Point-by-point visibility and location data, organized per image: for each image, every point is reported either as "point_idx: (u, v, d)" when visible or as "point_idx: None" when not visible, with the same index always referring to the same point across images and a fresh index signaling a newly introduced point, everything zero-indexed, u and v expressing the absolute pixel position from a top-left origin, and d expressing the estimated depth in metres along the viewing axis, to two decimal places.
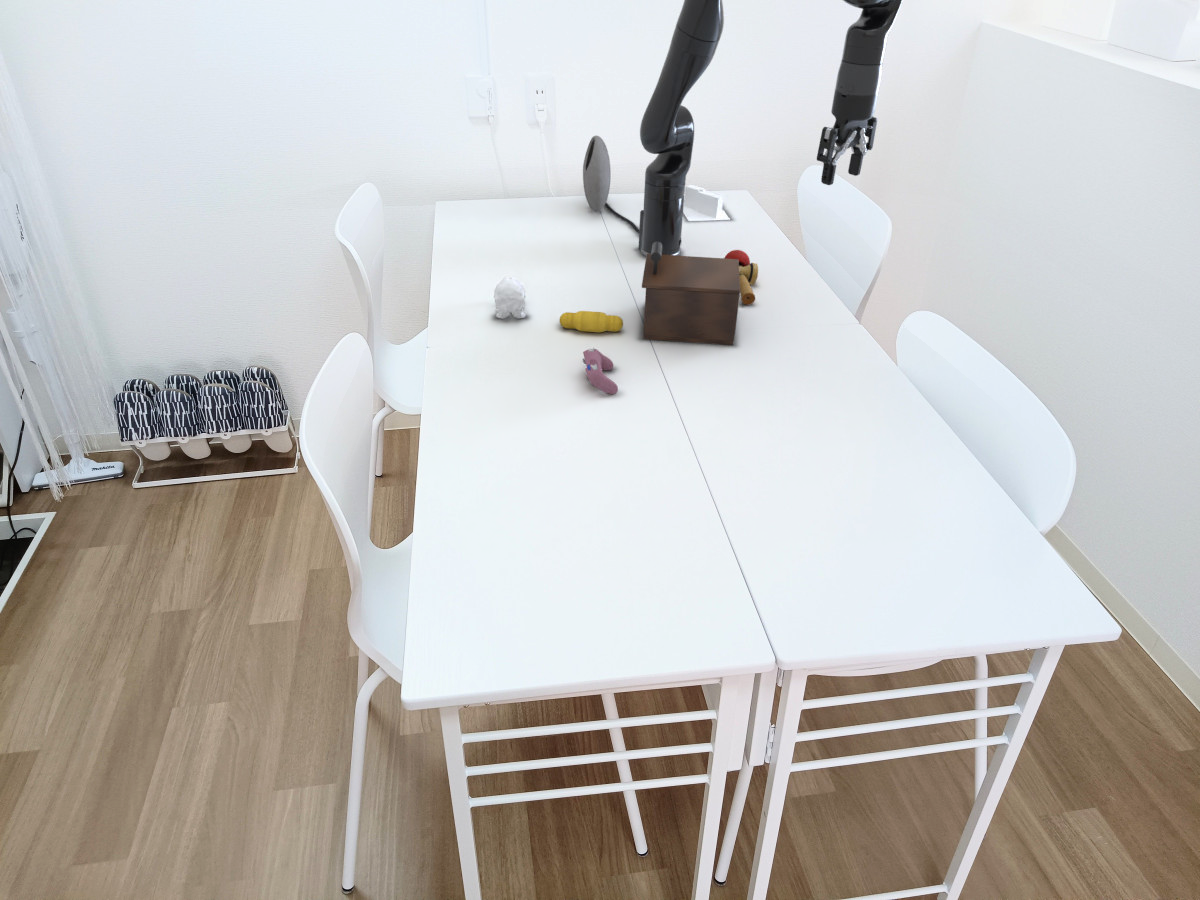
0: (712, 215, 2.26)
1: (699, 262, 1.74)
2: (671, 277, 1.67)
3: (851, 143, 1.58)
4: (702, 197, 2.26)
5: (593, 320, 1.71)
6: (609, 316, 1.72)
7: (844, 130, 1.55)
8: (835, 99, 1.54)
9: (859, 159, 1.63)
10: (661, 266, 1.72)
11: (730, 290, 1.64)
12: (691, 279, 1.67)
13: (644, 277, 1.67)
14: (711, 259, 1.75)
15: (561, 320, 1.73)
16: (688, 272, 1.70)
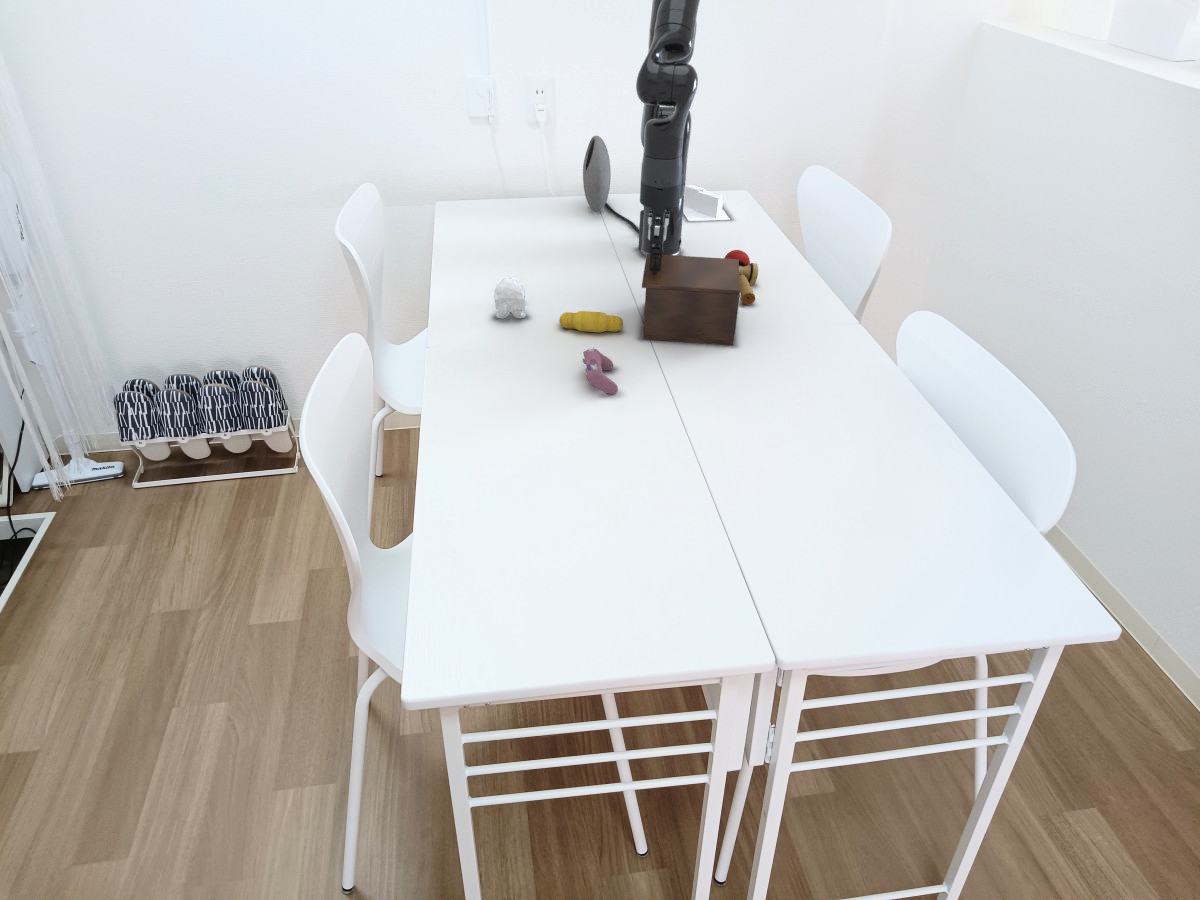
0: (712, 215, 2.26)
1: (699, 262, 1.74)
2: (671, 277, 1.67)
3: None
4: (702, 197, 2.26)
5: (593, 320, 1.71)
6: (609, 316, 1.72)
7: (663, 219, 1.61)
8: (649, 193, 1.59)
9: None
10: (661, 266, 1.72)
11: (730, 290, 1.64)
12: (691, 279, 1.67)
13: (644, 277, 1.67)
14: (711, 259, 1.75)
15: (561, 320, 1.73)
16: (688, 272, 1.70)
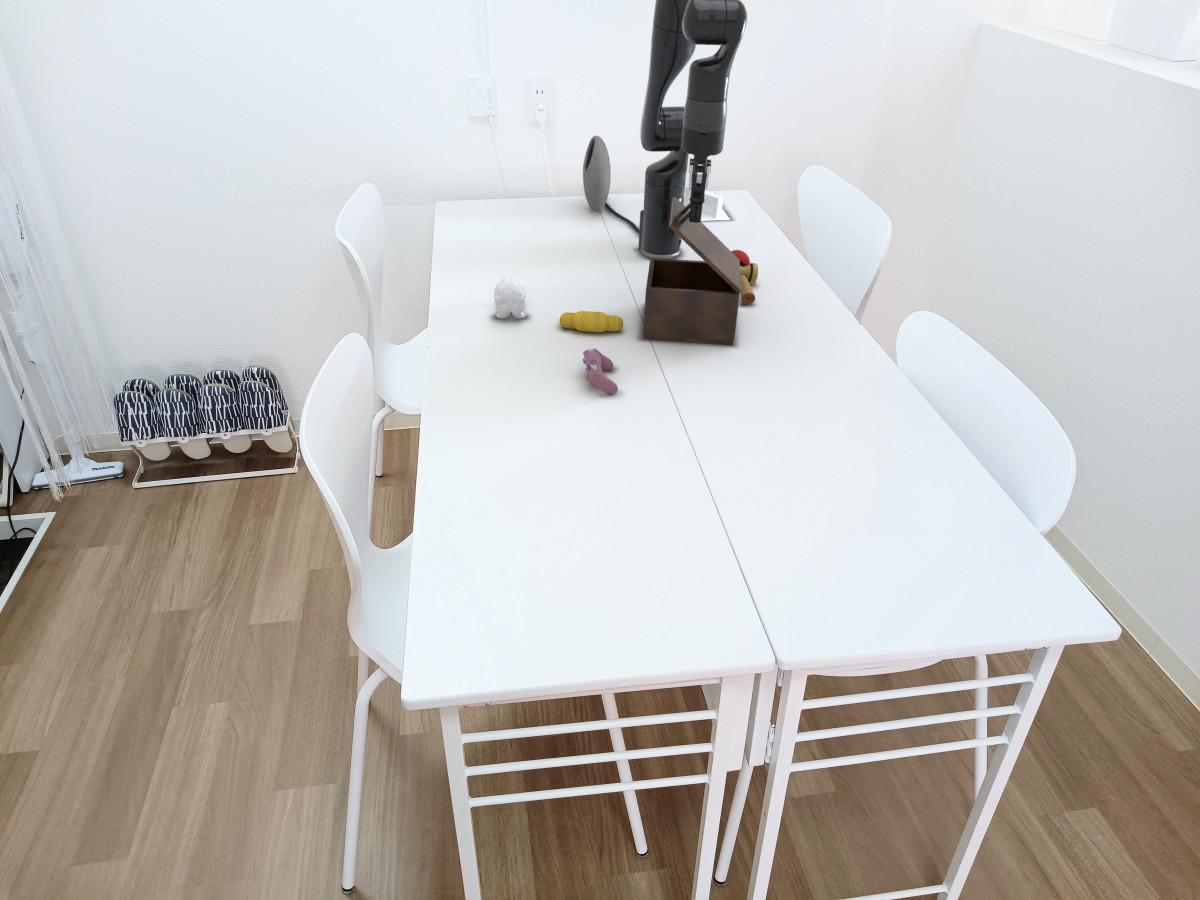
0: (712, 215, 2.26)
1: (713, 238, 1.71)
2: (693, 236, 1.62)
3: None
4: None
5: (593, 320, 1.71)
6: (609, 316, 1.72)
7: (706, 166, 1.55)
8: (691, 138, 1.52)
9: (701, 194, 1.64)
10: None
11: (734, 284, 1.63)
12: (707, 250, 1.63)
13: (673, 218, 1.60)
14: (721, 243, 1.73)
15: (561, 320, 1.73)
16: (705, 242, 1.66)
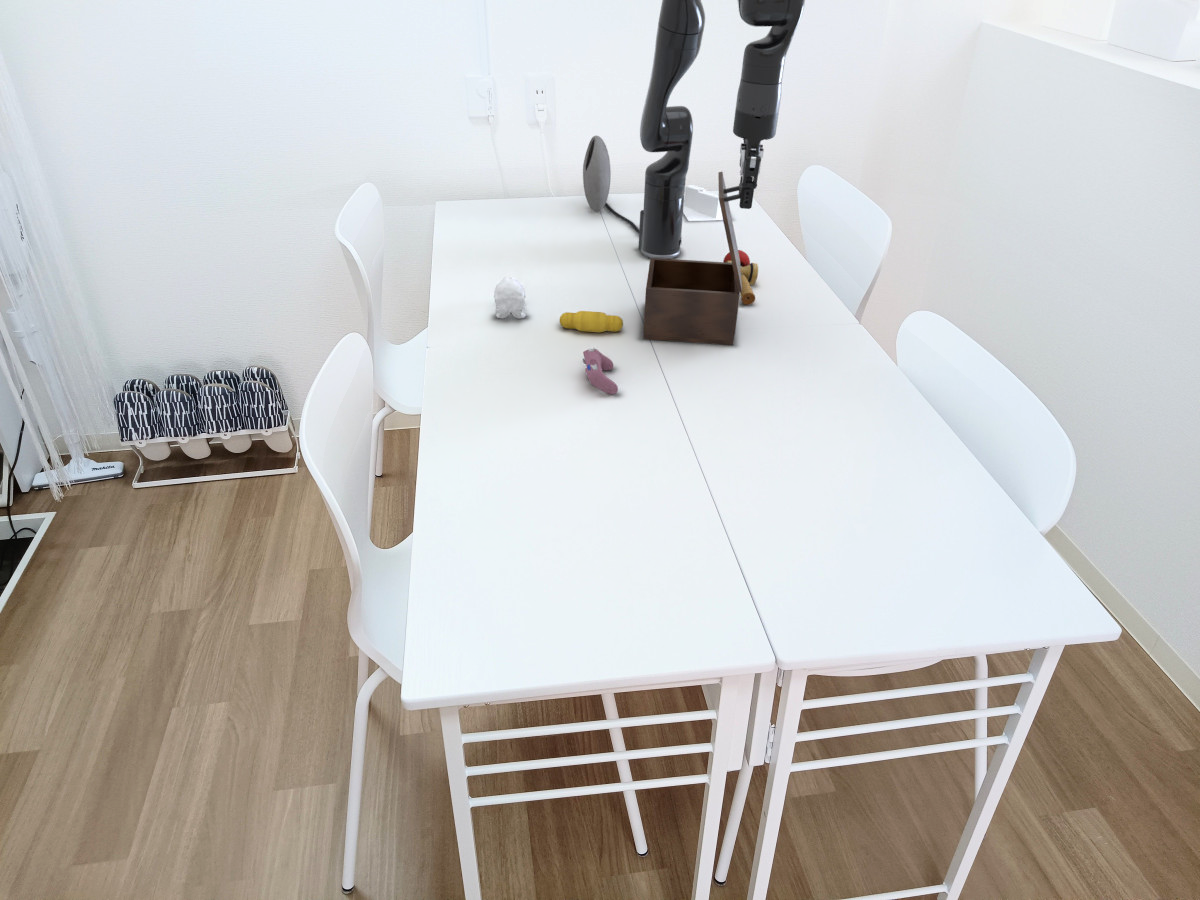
0: (712, 215, 2.26)
1: (733, 229, 1.69)
2: (728, 218, 1.60)
3: None
4: (702, 197, 2.26)
5: (593, 320, 1.71)
6: (609, 316, 1.72)
7: None
8: (745, 122, 1.50)
9: (751, 180, 1.61)
10: None
11: (739, 282, 1.63)
12: (732, 239, 1.62)
13: (723, 193, 1.56)
14: (735, 237, 1.72)
15: (561, 320, 1.73)
16: (731, 229, 1.64)
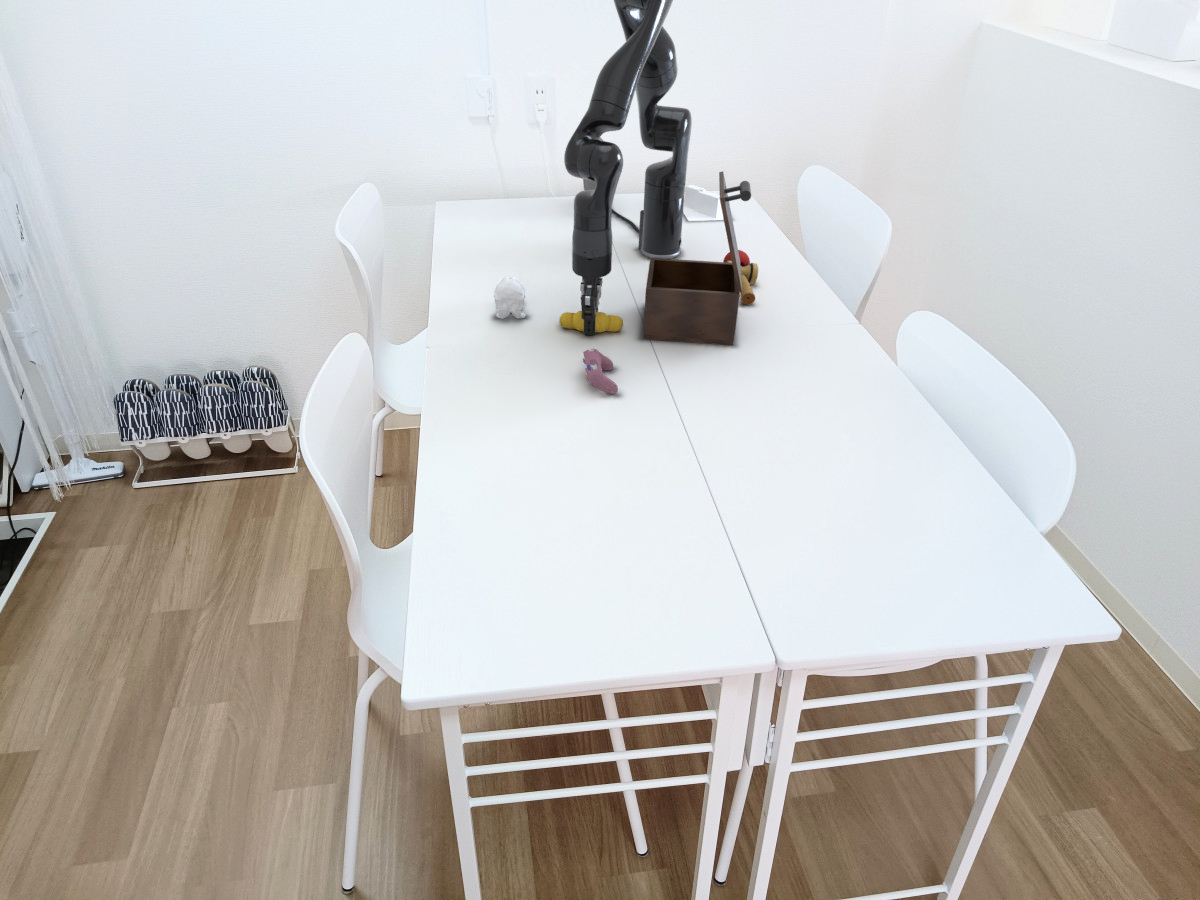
0: (712, 215, 2.26)
1: (733, 229, 1.69)
2: (729, 218, 1.60)
3: None
4: (702, 197, 2.26)
5: None
6: (609, 316, 1.72)
7: (595, 287, 1.65)
8: (579, 262, 1.63)
9: (596, 310, 1.74)
10: None
11: (739, 282, 1.63)
12: (733, 239, 1.62)
13: (724, 193, 1.56)
14: (735, 237, 1.72)
15: (561, 320, 1.73)
16: (732, 229, 1.64)
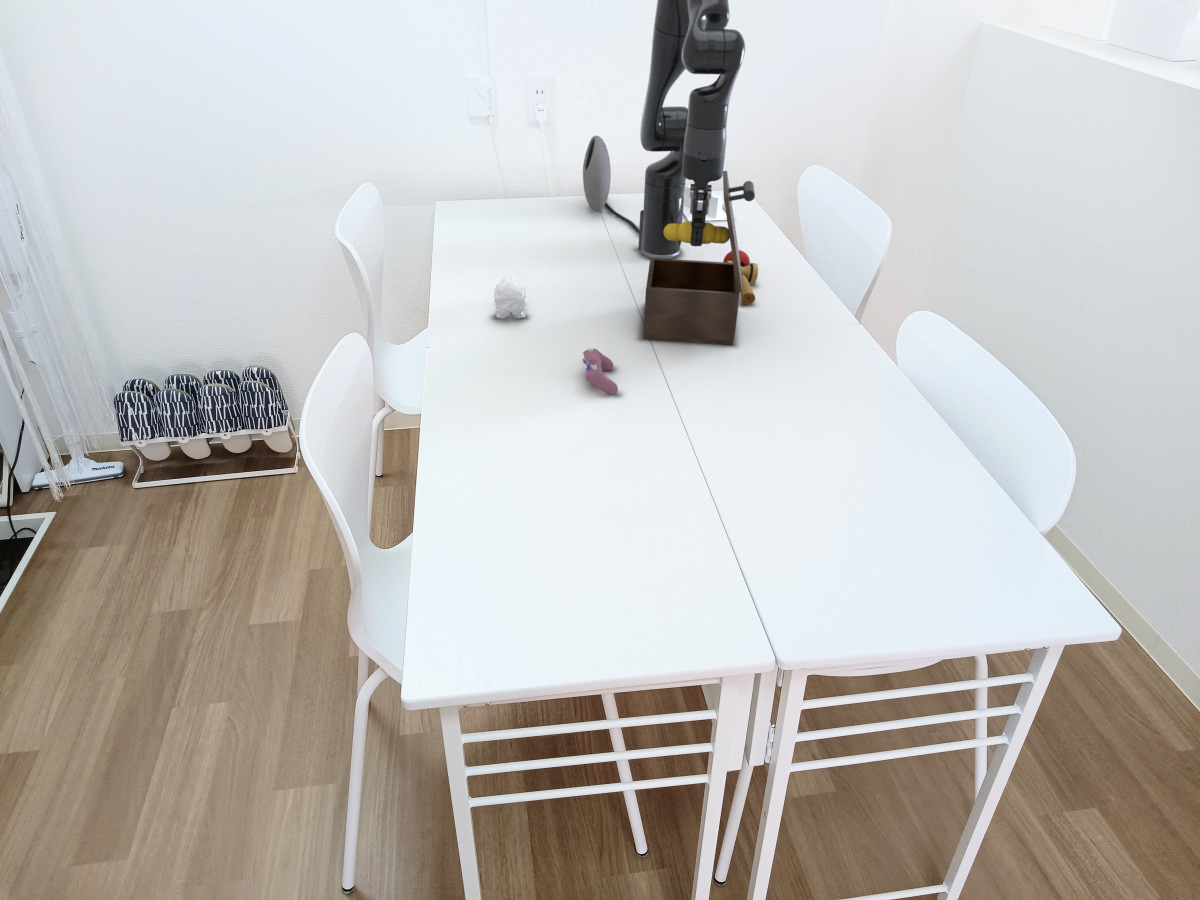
0: (712, 215, 2.26)
1: None
2: None
3: None
4: None
5: None
6: (716, 227, 1.65)
7: (706, 192, 1.58)
8: (692, 165, 1.55)
9: None
10: None
11: (740, 282, 1.63)
12: None
13: (728, 192, 1.56)
14: (736, 237, 1.72)
15: (666, 231, 1.66)
16: (734, 229, 1.64)
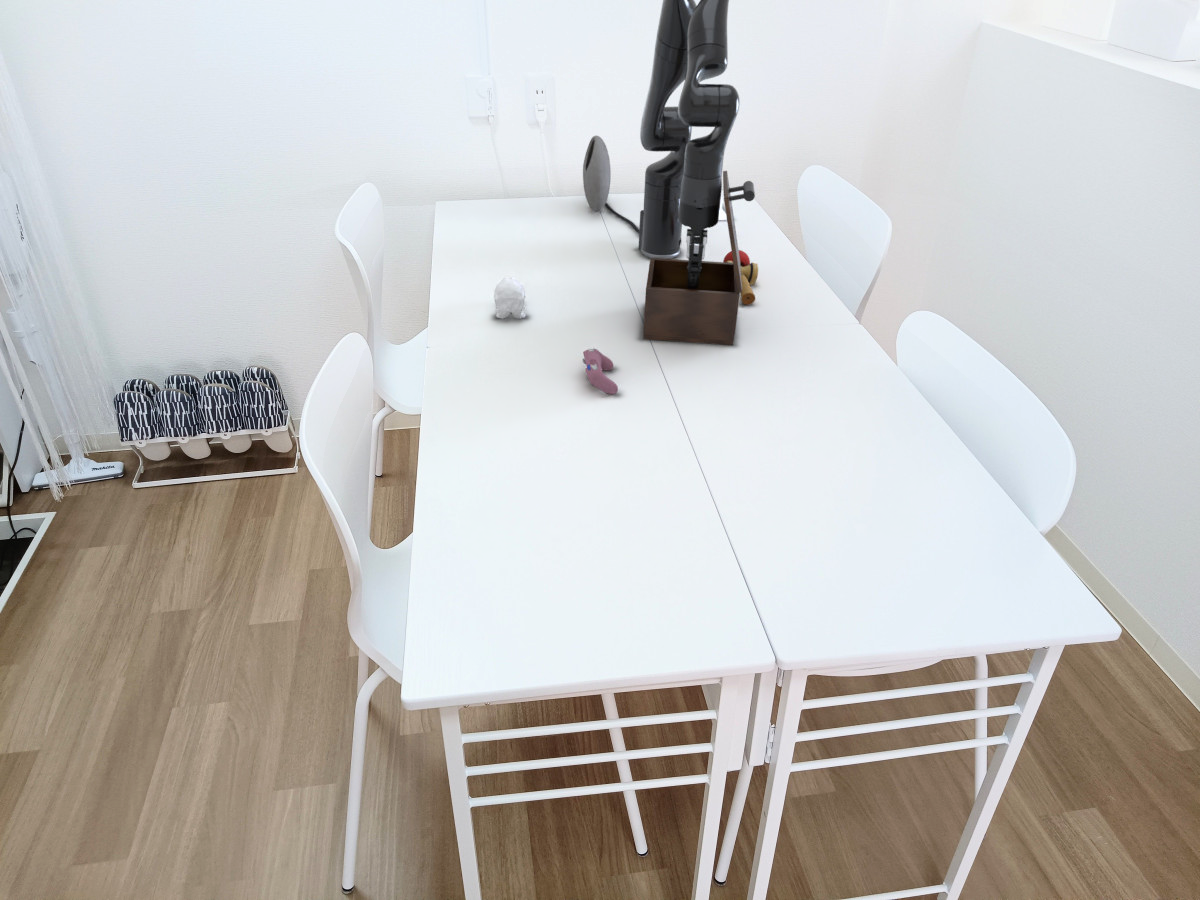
0: None
1: None
2: None
3: None
4: None
5: None
6: None
7: (702, 238, 1.63)
8: (688, 212, 1.60)
9: None
10: None
11: (740, 282, 1.63)
12: None
13: (728, 192, 1.56)
14: (736, 237, 1.72)
15: None
16: (734, 229, 1.64)
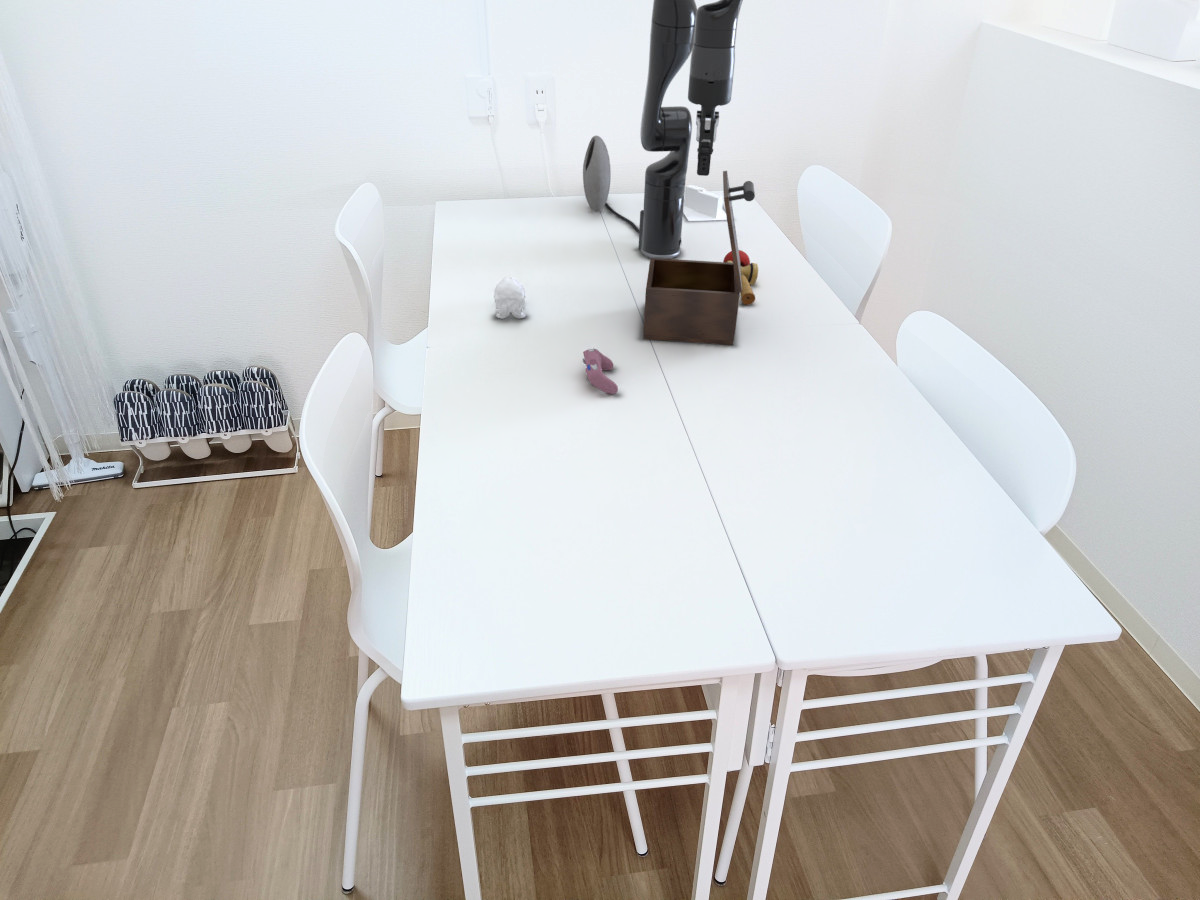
0: (712, 215, 2.26)
1: None
2: None
3: None
4: (702, 197, 2.26)
5: None
6: None
7: (714, 117, 1.50)
8: (699, 87, 1.47)
9: (709, 143, 1.60)
10: None
11: (740, 282, 1.63)
12: None
13: (728, 192, 1.56)
14: (736, 237, 1.72)
15: None
16: (734, 229, 1.64)
